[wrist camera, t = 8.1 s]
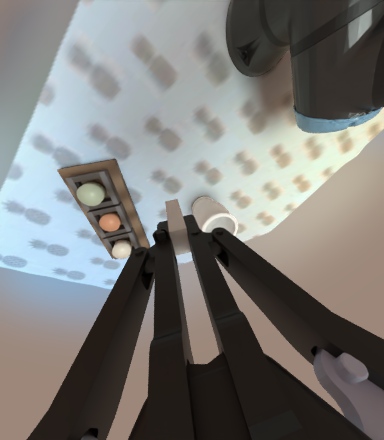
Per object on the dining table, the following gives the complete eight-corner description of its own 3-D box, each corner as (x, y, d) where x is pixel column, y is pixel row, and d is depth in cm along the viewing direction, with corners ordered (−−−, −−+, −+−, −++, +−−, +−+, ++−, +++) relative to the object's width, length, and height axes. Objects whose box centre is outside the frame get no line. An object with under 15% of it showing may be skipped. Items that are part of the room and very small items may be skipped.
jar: (222, 209, 52) (244, 232, 39) (199, 225, 53) (213, 252, 40) (208, 187, 46) (228, 205, 34) (183, 205, 47) (193, 229, 35)
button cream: (111, 242, 43) (108, 248, 40) (128, 237, 43) (126, 244, 41) (118, 253, 45) (116, 260, 43) (134, 249, 46) (132, 256, 43)
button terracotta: (99, 213, 40) (95, 218, 37) (117, 209, 40) (115, 213, 38) (107, 227, 42) (104, 233, 40) (124, 223, 43) (122, 229, 40)
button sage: (77, 184, 33) (71, 187, 31) (100, 179, 34) (95, 183, 31) (89, 203, 36) (84, 208, 33) (109, 198, 36) (106, 203, 34)
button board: (61, 168, 35) (48, 172, 31) (115, 158, 36) (110, 161, 32) (113, 254, 51) (110, 265, 46) (149, 245, 52) (149, 254, 48)
